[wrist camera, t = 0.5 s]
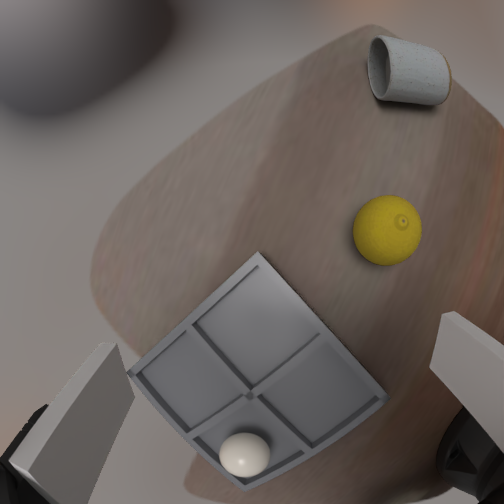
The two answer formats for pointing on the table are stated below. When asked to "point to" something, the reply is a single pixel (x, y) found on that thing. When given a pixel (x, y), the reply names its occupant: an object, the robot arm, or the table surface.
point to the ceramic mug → (407, 72)
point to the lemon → (387, 230)
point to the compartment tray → (257, 374)
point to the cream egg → (244, 454)
